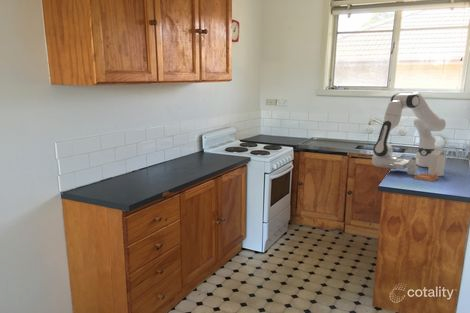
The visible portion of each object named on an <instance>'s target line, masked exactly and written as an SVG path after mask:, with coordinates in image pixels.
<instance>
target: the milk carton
mask: <svg viewBox="0 0 470 313" xmlns="http://www.w3.org/2000/svg"><path fill="white" fill-rule="evenodd" d="M434 148H435V150H434V151H433V152H431V153H430V160H429V167H428V171H427V174H428V175H432V174H434V173H437V177H442V176H444V175H445V166H446V159H447V154H446V152H444V150H443V149H441V148H437V147H434Z"/></svg>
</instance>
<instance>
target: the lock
mask: <svg viewBox="0 0 470 313" xmlns="http://www.w3.org/2000/svg"><path fill="white" fill-rule="evenodd" d="M408 160H409V162H408V165H413V168H407V175H411V176H416V175H418V167H419V166H418V159H416V158H415V156H414V157H413V156H412V157H411V158H409V159H408Z"/></svg>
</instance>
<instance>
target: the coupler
mask: <svg viewBox="0 0 470 313" xmlns="http://www.w3.org/2000/svg"><path fill="white" fill-rule="evenodd" d="M413 179H414V180H420V181H426V182H435V181H436V180H437V179H439V176H437V173H434V174H432V175H430V174H428V173H418V174H416V175H414V176H413Z"/></svg>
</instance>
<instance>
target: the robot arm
mask: <svg viewBox="0 0 470 313" xmlns="http://www.w3.org/2000/svg"><path fill="white" fill-rule="evenodd" d="M404 109H411V110H412V112H413V114H414V115H415V119H414V120H413V126H414V127H415V128H416V130H417V131H418V132H417V133H418V137H419V144H418V148H417V152H416V153H415V155H414V158H416V159H418V167H423V168H429V160H430V153H431V152H433V151H434V150H435V148H436V147H435V146H436V137H435V136H433V134H432V132H443V130H445V129H446V125H447V124H446V120H445V119H444V118H442V117H441V116H439V115H437V113H435V112H434V111H433V110H432V109H431V108H430V107H429V105H428V103H427V101H426V99H424V97H423V96H422V95H421V94H420V93H419V92H412V93H407V92H404V93H395V94H393V95H392V97H391V98H390V102H388V104H387V107H386V110H385V114H384V118H383V122H382V124H381V128H380V131H379V134H378V138H377V140H376V142H375V144H374V146H373V148H372V151H373V154H374V155H372V157H371V162H372V165H373V166H375V167H378V168H386V169H391V170H398V169H399V170H404V169H408V168H413V165H408V162H409V159H406V158H401V157H396V156H392V155H393V151H394V148H393V146H392V145H391V144H390V143H388V141H389V140H388V139H389V135H390V132H391V131H392V130H393V129H395V128H397V127H398V125H399V123H400V122H401V118H402V112H403V110H404Z"/></svg>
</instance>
